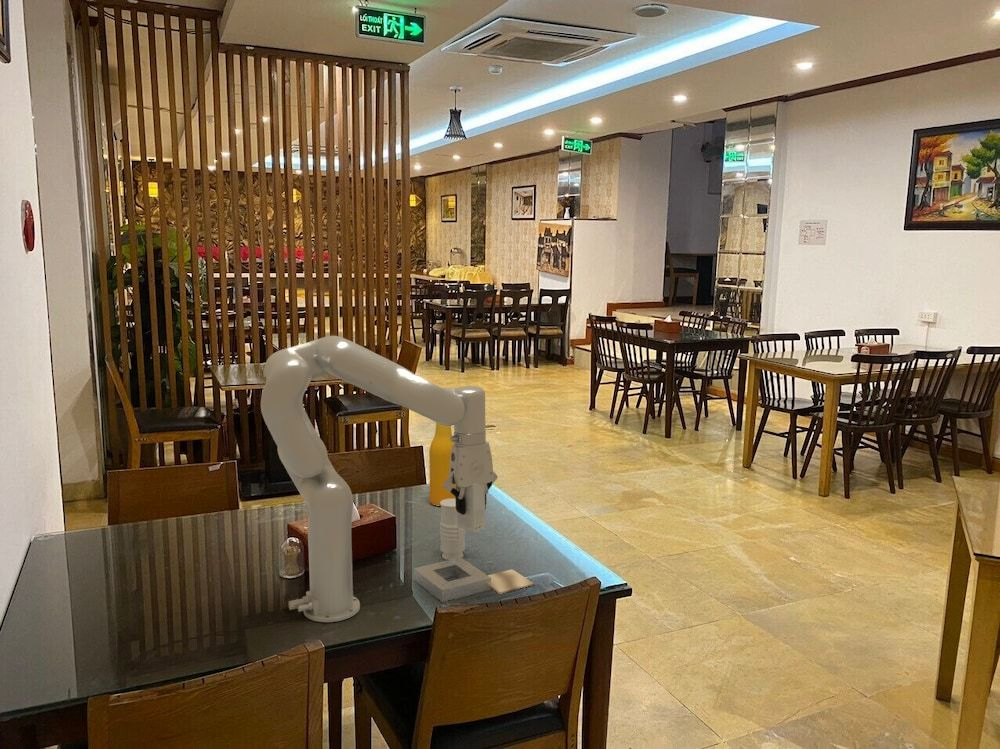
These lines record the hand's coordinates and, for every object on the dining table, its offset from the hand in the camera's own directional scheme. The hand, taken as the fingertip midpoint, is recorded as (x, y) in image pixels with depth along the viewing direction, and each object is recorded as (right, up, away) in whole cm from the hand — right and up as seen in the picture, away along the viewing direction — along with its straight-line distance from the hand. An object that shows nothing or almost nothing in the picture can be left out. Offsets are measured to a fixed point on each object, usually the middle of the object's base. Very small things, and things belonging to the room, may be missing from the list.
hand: (471, 510), depth 186 cm
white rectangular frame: (-5, -19, +2) cm, 19 cm away
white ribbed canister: (-6, -16, +20) cm, 27 cm away
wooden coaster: (+8, -19, +3) cm, 21 cm away
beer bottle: (-12, -9, +65) cm, 66 cm away
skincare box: (0, -5, +1) cm, 5 cm away
